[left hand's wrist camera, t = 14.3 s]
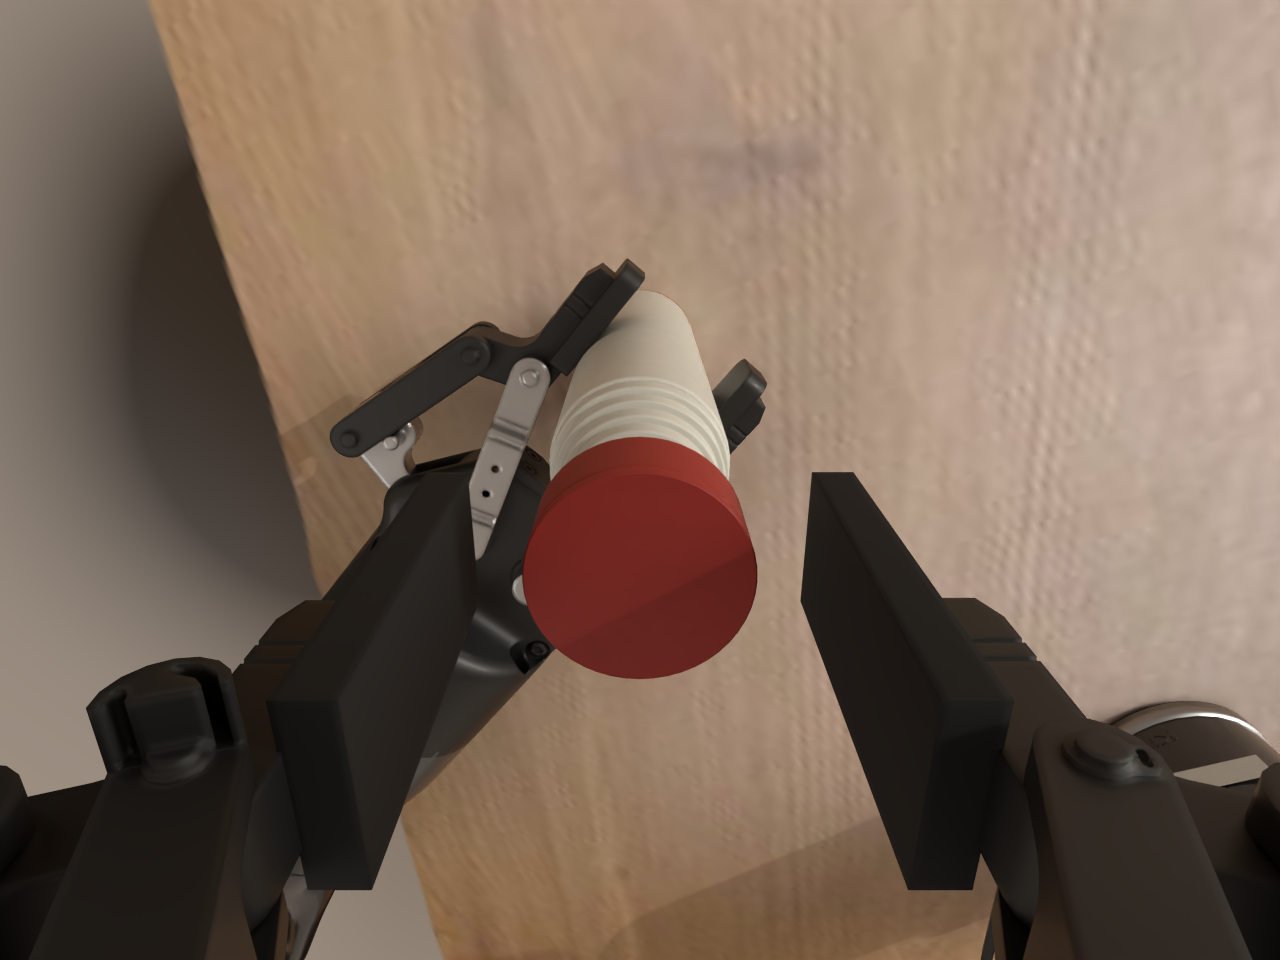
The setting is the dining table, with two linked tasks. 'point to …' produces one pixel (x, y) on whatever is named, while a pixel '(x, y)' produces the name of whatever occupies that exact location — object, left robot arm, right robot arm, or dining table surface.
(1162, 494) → the dining table surface
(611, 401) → the bottle
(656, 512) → the cap
